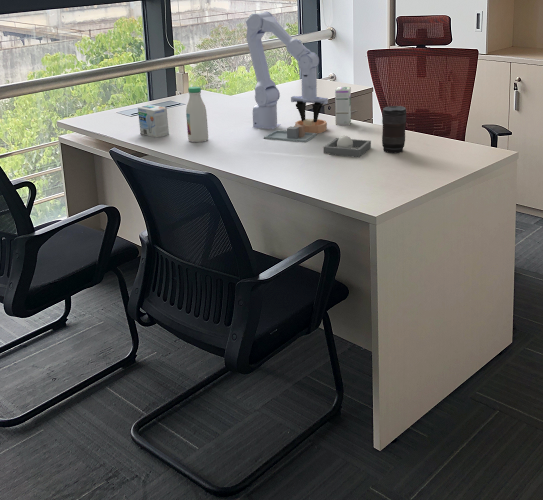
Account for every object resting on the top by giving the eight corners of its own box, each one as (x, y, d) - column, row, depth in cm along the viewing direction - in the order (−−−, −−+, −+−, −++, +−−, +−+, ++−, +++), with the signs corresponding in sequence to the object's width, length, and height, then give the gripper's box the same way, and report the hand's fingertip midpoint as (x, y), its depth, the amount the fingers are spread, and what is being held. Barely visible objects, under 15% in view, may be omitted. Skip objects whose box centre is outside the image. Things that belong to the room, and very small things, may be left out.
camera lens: (378, 148, 239) (380, 106, 233) (401, 147, 240) (403, 105, 234) (384, 154, 232) (385, 111, 226) (407, 153, 232) (409, 109, 226)
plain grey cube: (287, 139, 254) (286, 128, 252) (290, 136, 257) (290, 126, 255) (295, 139, 252) (295, 129, 251) (299, 137, 255) (298, 127, 254)
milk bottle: (211, 138, 261) (208, 85, 253) (203, 143, 254) (199, 89, 246) (193, 137, 263) (189, 85, 255) (185, 142, 257) (180, 89, 248)
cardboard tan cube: (293, 137, 256) (293, 126, 255) (296, 134, 259) (295, 124, 258) (302, 137, 255) (302, 127, 253) (304, 135, 258) (304, 124, 256)
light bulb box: (139, 134, 271) (136, 107, 267) (153, 130, 276) (150, 104, 271) (156, 137, 264) (153, 110, 260) (169, 134, 269) (167, 107, 264)
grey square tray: (323, 154, 235) (323, 146, 234) (336, 144, 246) (336, 137, 245) (359, 157, 230) (359, 150, 229) (370, 147, 240) (370, 140, 239)
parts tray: (263, 139, 256) (263, 136, 255) (275, 133, 265) (275, 130, 264) (305, 143, 249) (305, 140, 248) (316, 136, 258) (316, 133, 258)
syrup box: (349, 125, 272) (350, 89, 266) (334, 125, 273) (335, 89, 267) (350, 122, 277) (351, 86, 271) (336, 122, 278) (336, 86, 272)
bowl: (290, 133, 263) (290, 124, 262) (302, 126, 273) (302, 118, 272) (319, 135, 258) (319, 127, 257) (330, 128, 268) (330, 120, 267)
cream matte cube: (303, 130, 263) (303, 120, 262) (307, 128, 266) (306, 118, 265) (311, 131, 262) (311, 121, 260) (315, 129, 265) (315, 119, 263)
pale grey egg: (342, 154, 234) (342, 138, 232) (333, 151, 238) (333, 135, 236) (361, 151, 237) (361, 135, 235) (351, 147, 242) (352, 132, 239)
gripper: (287, 87, 257) (288, 122, 262) (323, 88, 251) (323, 124, 257) (294, 83, 263) (295, 118, 268) (329, 85, 257) (329, 120, 262)
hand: (309, 121), depth 263 cm, fingers open, 4 cm apart
